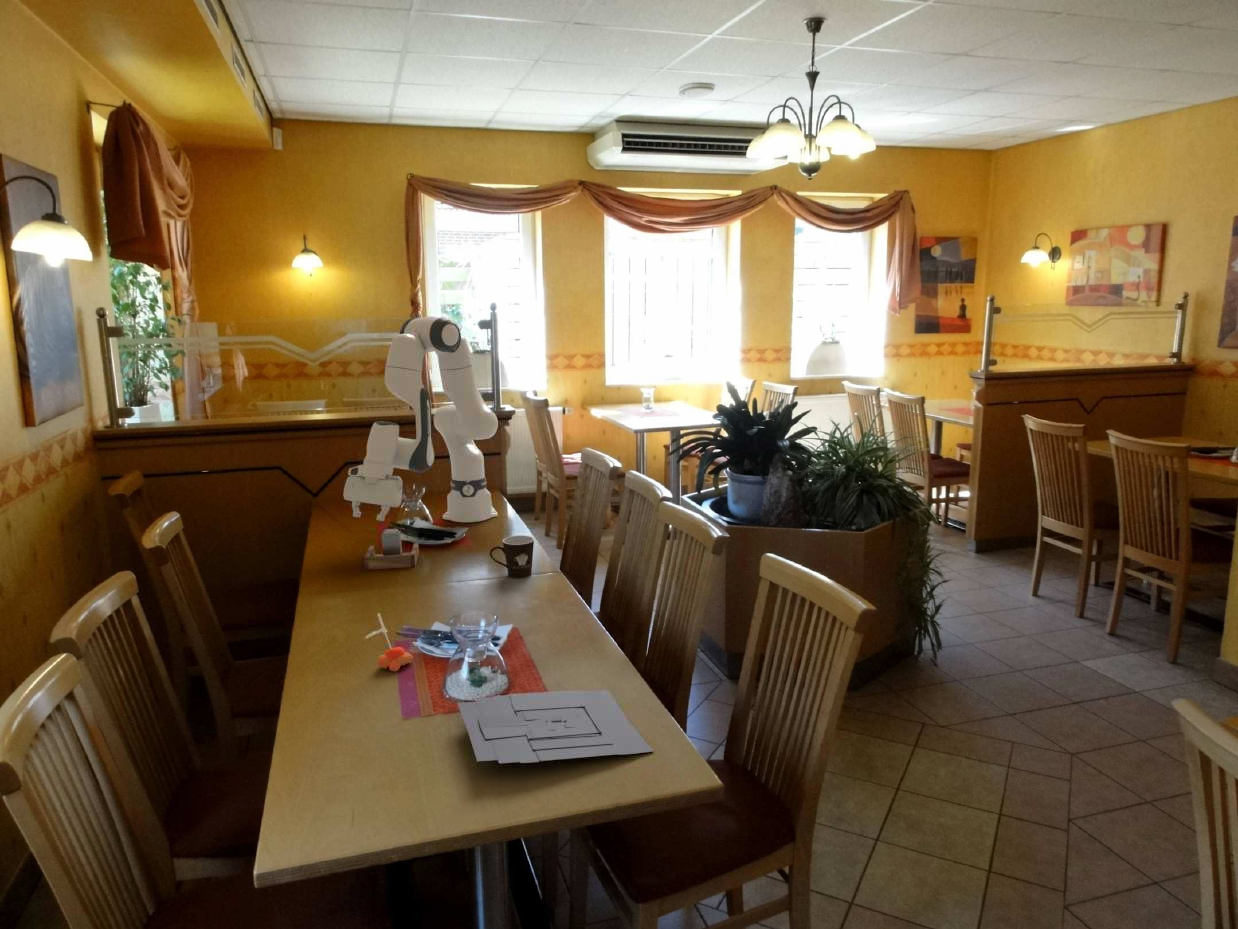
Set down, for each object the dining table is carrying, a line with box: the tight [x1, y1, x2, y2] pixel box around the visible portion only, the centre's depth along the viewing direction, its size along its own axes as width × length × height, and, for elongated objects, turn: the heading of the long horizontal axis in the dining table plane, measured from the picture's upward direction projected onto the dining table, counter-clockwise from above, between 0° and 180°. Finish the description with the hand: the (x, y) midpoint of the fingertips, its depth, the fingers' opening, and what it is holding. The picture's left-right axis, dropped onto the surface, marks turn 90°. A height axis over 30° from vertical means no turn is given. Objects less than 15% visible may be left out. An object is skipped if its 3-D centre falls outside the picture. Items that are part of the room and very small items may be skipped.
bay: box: [363, 542, 420, 571], centre depth 245 cm, size 12×14×4 cm
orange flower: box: [365, 612, 414, 672], centre depth 176 cm, size 6×10×12 cm, turn 116°
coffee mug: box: [489, 534, 535, 579], centre depth 232 cm, size 12×9×10 cm
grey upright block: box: [380, 528, 403, 556], centre depth 245 cm, size 4×5×9 cm
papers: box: [457, 689, 654, 764], centre depth 149 cm, size 24×30×4 cm
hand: (368, 518), depth 252 cm, fingers open, 8 cm apart
